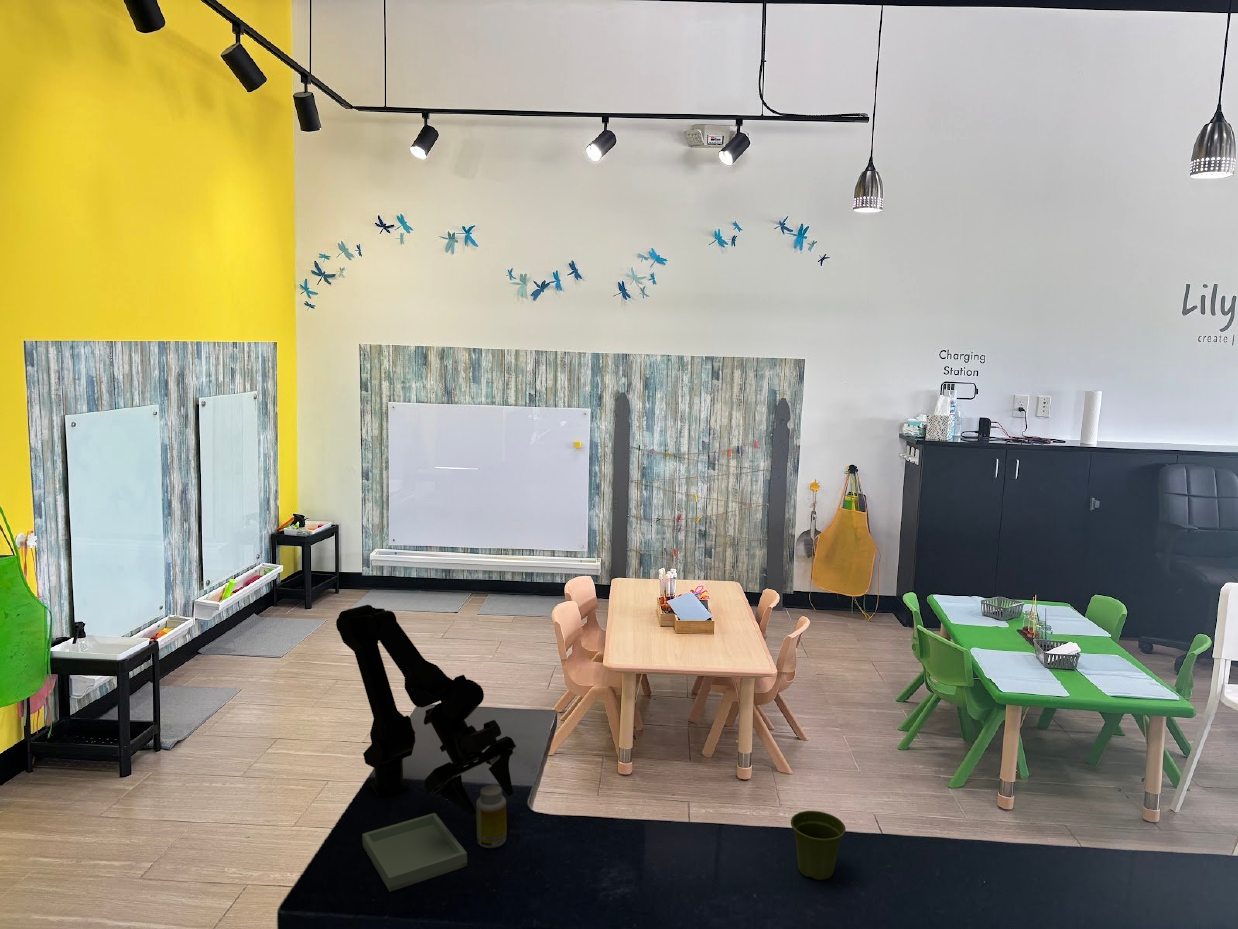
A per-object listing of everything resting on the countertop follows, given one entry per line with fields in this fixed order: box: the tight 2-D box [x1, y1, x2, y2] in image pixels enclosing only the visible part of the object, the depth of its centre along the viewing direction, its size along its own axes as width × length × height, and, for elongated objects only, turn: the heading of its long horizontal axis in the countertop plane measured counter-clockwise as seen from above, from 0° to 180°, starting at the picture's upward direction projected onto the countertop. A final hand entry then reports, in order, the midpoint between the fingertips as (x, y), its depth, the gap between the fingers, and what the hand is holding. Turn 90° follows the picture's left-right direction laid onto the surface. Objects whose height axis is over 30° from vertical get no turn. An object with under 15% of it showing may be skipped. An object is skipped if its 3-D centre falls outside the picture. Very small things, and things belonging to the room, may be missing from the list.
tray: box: [362, 812, 468, 893], centre depth 155 cm, size 16×14×2 cm
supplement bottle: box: [475, 784, 508, 849], centre depth 160 cm, size 6×6×10 cm
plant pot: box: [790, 810, 847, 881], centre depth 151 cm, size 9×9×9 cm
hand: (493, 804), depth 159 cm, fingers open, 9 cm apart
